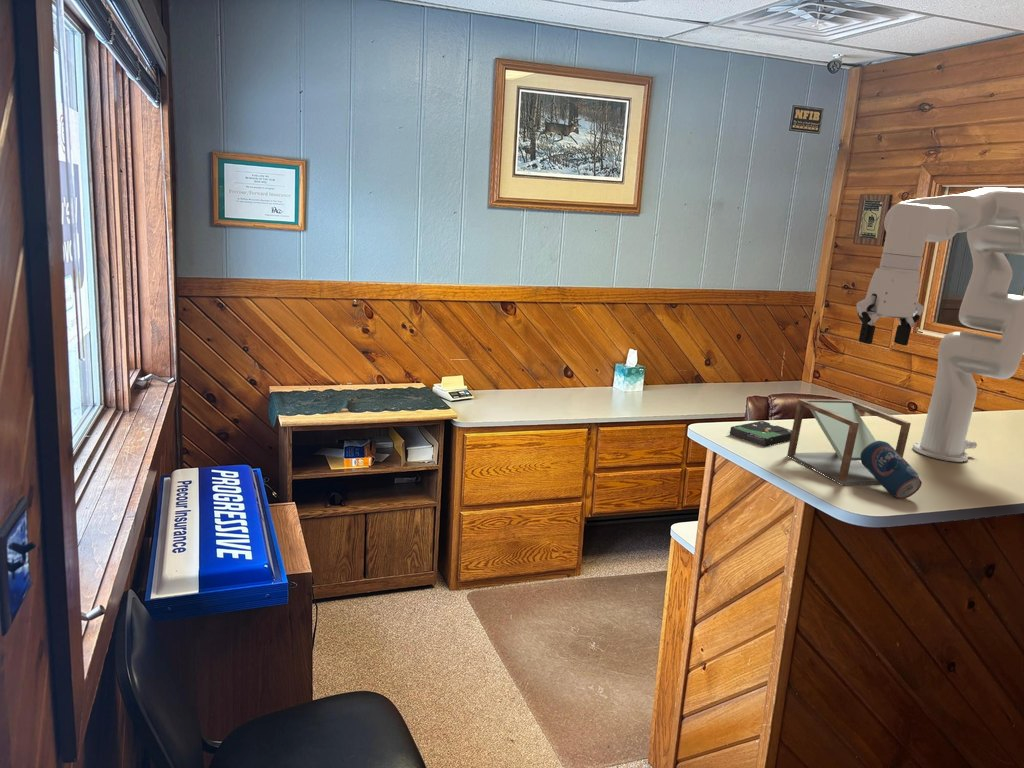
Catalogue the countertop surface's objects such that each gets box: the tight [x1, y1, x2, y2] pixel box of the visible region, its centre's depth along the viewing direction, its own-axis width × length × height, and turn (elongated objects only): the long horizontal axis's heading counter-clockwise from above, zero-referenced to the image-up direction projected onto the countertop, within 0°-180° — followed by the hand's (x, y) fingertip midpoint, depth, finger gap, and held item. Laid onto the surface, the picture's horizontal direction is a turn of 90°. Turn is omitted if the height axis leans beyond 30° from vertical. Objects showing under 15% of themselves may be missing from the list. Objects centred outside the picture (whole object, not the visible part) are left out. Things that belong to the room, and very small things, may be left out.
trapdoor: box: [808, 402, 877, 461], centre depth 172 cm, size 16×12×1 cm
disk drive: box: [729, 420, 792, 448], centre depth 193 cm, size 10×3×15 cm
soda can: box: [860, 440, 923, 500], centre depth 161 cm, size 7×7×12 cm
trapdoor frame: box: [786, 398, 912, 485], centre depth 172 cm, size 18×15×14 cm
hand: (882, 343), depth 163 cm, fingers open, 9 cm apart
